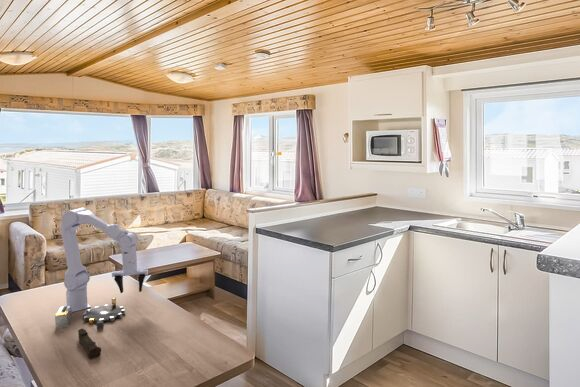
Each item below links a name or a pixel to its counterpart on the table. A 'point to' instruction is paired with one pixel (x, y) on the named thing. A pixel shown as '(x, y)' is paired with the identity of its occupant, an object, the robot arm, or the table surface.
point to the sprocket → (104, 313)
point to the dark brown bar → (89, 344)
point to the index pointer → (100, 324)
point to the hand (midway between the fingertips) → (131, 291)
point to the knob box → (63, 317)
